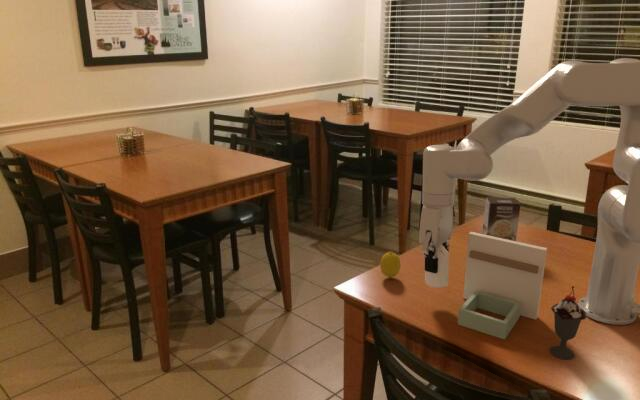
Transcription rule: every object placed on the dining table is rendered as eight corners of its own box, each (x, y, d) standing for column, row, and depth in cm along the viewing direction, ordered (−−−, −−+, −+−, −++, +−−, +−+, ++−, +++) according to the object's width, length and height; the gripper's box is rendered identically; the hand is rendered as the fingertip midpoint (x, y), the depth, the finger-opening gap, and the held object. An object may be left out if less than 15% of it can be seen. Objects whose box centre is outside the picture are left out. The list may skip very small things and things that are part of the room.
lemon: (384, 283, 142) (385, 256, 140) (377, 275, 147) (377, 248, 145) (403, 281, 144) (404, 254, 141) (395, 272, 149) (396, 246, 146)
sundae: (569, 343, 115) (579, 282, 110) (585, 361, 109) (596, 297, 104) (539, 344, 115) (548, 282, 110) (553, 362, 108) (563, 298, 104)
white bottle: (454, 237, 127) (442, 245, 123) (452, 282, 131) (441, 290, 127) (432, 232, 131) (420, 239, 127) (431, 275, 135) (419, 283, 131)
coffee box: (484, 252, 161) (489, 203, 156) (480, 244, 167) (485, 196, 162) (515, 253, 160) (521, 203, 155) (510, 245, 167) (515, 197, 161)
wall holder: (537, 317, 125) (547, 248, 120) (520, 344, 115) (530, 270, 109) (465, 296, 135) (470, 231, 130) (443, 319, 125) (448, 250, 119)
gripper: (438, 186, 132) (436, 251, 138) (407, 205, 119) (407, 277, 125) (467, 190, 128) (464, 257, 134) (438, 210, 115) (436, 284, 121)
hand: (436, 266), depth 129 cm, fingers closed on white bottle, 5 cm apart
